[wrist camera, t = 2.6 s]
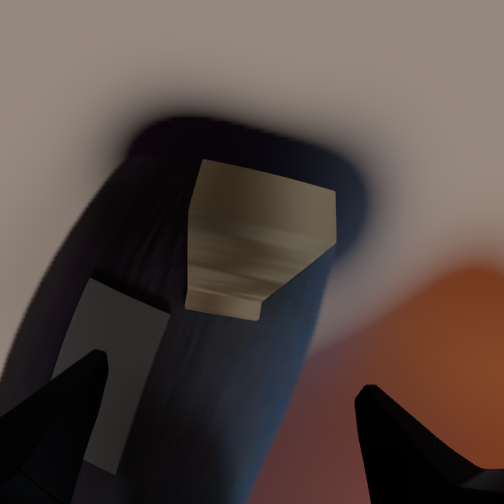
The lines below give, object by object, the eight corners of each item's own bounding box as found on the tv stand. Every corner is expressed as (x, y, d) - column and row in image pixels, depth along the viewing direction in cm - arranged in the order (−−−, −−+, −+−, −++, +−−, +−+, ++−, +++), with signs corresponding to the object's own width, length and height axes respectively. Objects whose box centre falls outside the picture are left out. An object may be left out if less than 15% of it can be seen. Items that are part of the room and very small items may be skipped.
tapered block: (262, 261, 24) (334, 168, 12) (255, 320, 22) (335, 275, 10) (196, 248, 23) (210, 136, 11) (184, 308, 21) (179, 244, 9)
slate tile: (171, 316, 21) (170, 314, 19) (118, 469, 15) (115, 474, 14) (94, 281, 20) (89, 277, 19) (44, 428, 14) (38, 431, 13)
